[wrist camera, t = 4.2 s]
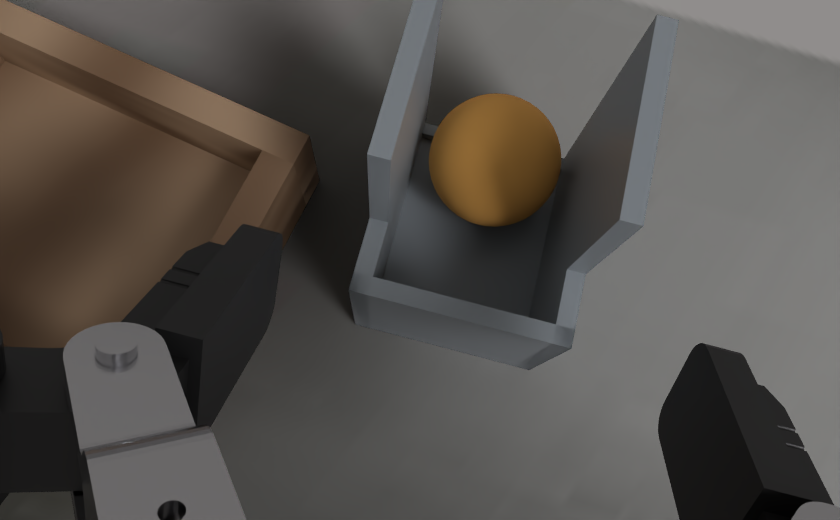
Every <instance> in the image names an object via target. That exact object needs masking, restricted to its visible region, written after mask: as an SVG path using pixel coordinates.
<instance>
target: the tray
mask: <svg viewBox="0 0 840 520" xmlns="http://www.w3.org/2000/svg"><path fill="white" fill-rule="evenodd" d="M319 181H320V180H319V176H318V172H317V167H316V163H315V158H314V154H313V149H312V145H311V140H310V136H309V135H307V134H305V133H303V132H301V131H298V130H296V129H294V128H292V127H289V126H287V125H285V124H283V123H280V122H278V121H276V120H274V119H271V118H269V117H267V116H265V115H262V114H260V113H258V112H256V111H253V110H251V109H249V108H247V107H244V106H242V105H240V104H238V103H235V102H233V101H231V100H229V99H226V98H224V97H222V96H220V95H217V94H215V93H213V92H211V91H208V90H206V89H204V88H202V87H199V86H197V85H195V84H193V83H190V82H188V81H186V80H184V79H181V78H179V77H177V76H175V75H172V74H170V73H168V72H166V71H163V70H161V69H159V68H157V67H154V66H152V65H150V64H148V63H145V62H143V61H141V60H139V59H136V58H134V57H132V56H130V55H127V54H125V53H123V52H121V51H118V50H116V49H114V48H112V47H109V46H107V45H105V44H103V43H100V42H98V41H96V40H94V39H91V38H89V37H87V36H85V35H82V34H80V33H78V32H76V31H73V30H71V29H69V28H67V27H64V26H62V25H60V24H58V23H55V22H53V21H51V20H49V19H46V18H44V17H42V16H40V15H37V14H35V13H33V12H31V11H28V10H26V9H24V8H22V7H19V6H17V5H15V4H13V3H10V2H8V1H6V0H0V330H1V332H2V335H3V344H4V347H33V348H63V347H65V346H66V344H67V343H68V341H69V340H70V339H71V338H72V337H73V336H75V335H76V334H77V333H79V332H81V331H83V330H84V329H87V328H89V327H92V326H95V325H99V324H104V323H111V322H121V321H122V320H123V319H124V318H125V317H126V316H127V314H128V313H129V312H130V311H131V310H132V309H133V308H134V307H135V306H136V305H137V304H138V303H139V302H140V300H141V299H142V298H143V297H144V296H145V295H146V294H147V293H148V292H149V291H150V290H151V289H152V288H153V287H154V285H155V284H156V283H157V282H160V281H161V278H162V277H163V276H164V275H165V274H166V273H167V271H168V270H169V269H172V266H173V265H174V264H175V263H176V262H177V261H178V260H179V259H180V257H181V256H182V255H183V254H184V253H185V252H186V251H188V250H191V249H193V248H195V247H197V246H200V245H202V244H204V243H206V242H213V243H217V244H221V245H225V244H226V242H227V241H228V240H229V239H230V238H231V236H232V235H233V234H234V233H235V232H236V230H237V229H238V228H239V227H240V226H241V225H242V224H247V225H251V226H255V227H259V228H263V229H266V230H270V231H274V232H278V233H281V234H282V237H283V245H282V250H283V248H284V246H285V244H286V242H287V240H288V239H289V237H290V235H291V233H292V231H293V229H294V227H295V225H296V224H297V222H298V220H299V218H300V216H301V214H302V212H303V210H304V209H305V207H306V205H307V203H308V201H309V199H310V197H311V196H312V194H313V192H314V190H315V188H316V186H317V184H318V182H319Z"/></svg>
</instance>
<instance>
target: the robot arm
mask: <svg viewBox="0 0 840 520" xmlns="http://www.w3.org/2000/svg"><path fill="white" fill-rule="evenodd" d="M282 245H283V237H282V234H281V233H278V232H274V231H270V230H266V229H263V228H259V227H255V226H251V225H247V224H242V225H241V226H240V227H239V228H238V229H237V230H236V232H235V233H234V234H233V235H232V236H231V238H230V239H229V240H228V241H227V242H226V244H225V245H221V244H217V243H213V242H206V243H204V244H202V245H200V246H197V247H195V248H193V249H191V250H188V251H186V252H185V253H184V254H183V255H182V256H181V257H180V259H179V260H178V261H177V262H176V263H175V264H174V265H173V266H172V269H169V270H168V271H167V273H166V274H165V275H164V276H163V277H162V278H161V281H160V282H157V283H156V284H155V285H154V287H153V288H152V289H151V290H150V291H149V292H148V293H147V294H146V295H145V296H144V297H143V298H142V299H141V300H140V302H139V303H138V304H137V305H136V306H135V307H134V308H133V309H132V310H131V311H130V312H129V313H128V314H127V316H126V317H125V318H124V319H123V320H122V321H121V322H111V323H104V324H99V325H95V326H92V327H89V328H87V329H84V330H83V331H81V332H79V333H77V334H76V335H75V336H73V337H72V338H71V339H70V340H69V341H68V343H67V344H66V346H65V347H63V348H33V347H4V344H3V335H2V332H1V330H0V505H1V503H2V502H3V501H4V499H5V498H6V497H7V496H8V494H9V493H12V492H56V491H71V498H72V504H73V510H74V516H75V520H246V518H245V515H244V512H243V510H242V507H241V504H240V502H239V499H238V497H237V494H236V491H235V489H234V486H233V483H232V481H231V478H230V476H229V473H228V470H227V468H226V465H225V463H224V460H223V457H222V455H221V452H220V449H219V447H218V444H217V442H216V439H215V437H214V434H213V432H212V430H211V428H210V427H211V425H212V423H213V422H214V420H215V418H216V416H217V415H218V413H219V411H220V410H221V408H222V406H223V404H224V403H225V401H226V399H227V398H228V396H229V394H230V392H231V391H232V389H233V387H234V385H235V384H236V382H237V380H238V379H239V377H240V375H241V373H242V372H243V370H244V368H245V367H246V365H247V363H248V361H249V360H250V358H251V356H252V354H253V353H254V351H255V349H256V348H257V346H258V344H259V342H260V341H261V339H262V337H263V336H264V334H265V332H266V330H267V327H268V325H269V322H270V319H271V316H272V313H273V309H274V304H275V297H276V290H277V283H278V275H279V268H280V260H281V253H282ZM658 434H659V439H660V443H661V447H662V451H663V455H664V459H665V463H666V467H667V471H668V475H669V479H670V483H671V487H672V491H673V495H674V499H675V503H676V507H677V511H678V515H679V519H680V520H840V508H839V507H836V506H834V504H833V502H832V500H831V498H830V496H829V494H828V492H827V490H826V488H825V486H824V484H823V482H822V480H821V478H820V476H819V474H818V473H817V471H816V469H815V467H814V465H813V463H812V461H811V459H810V457H809V455H808V453H807V451H804V445H803V443H802V441H801V439H800V437H799V435H798V434H797V433H795V427H794V425H793V423H792V421H791V419H790V417H789V416H788V414H787V412H786V410H785V408H784V407H783V406H782V405H781V404H780V402H779V401H778V400H777V399H776V398H775V397H774V396H773V395H772V394H771V393H770V392H769V391H768V390H767V389H766V388H765V387H764V386H761V385H758V384H757V382H756V380H755V378H754V376H753V374H752V372H751V369H750V367H749V365H748V363H747V361H746V359H745V357H744V356H743V355H742V354H741V353H738V352H734V351H730V350H726V349H722V348H719V347H715V346H711V345H707V344H703V343H700V344H698V345H696V346H695V347H694V348H693V350H692V351H691V353H690V354H689V356H688V358H687V360H686V362H685V364H684V366H683V368H682V370H681V372H680V374H679V375H678V377H677V379H676V381H675V383H674V385H673V387H672V389H671V391H670V393H669V394H668V396H667V398H666V400H665V402H664V404H663V407H662V409H661V413H660V417H659V424H658Z"/></svg>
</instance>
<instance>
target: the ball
mask: <svg viewBox="0 0 840 520" xmlns="http://www.w3.org/2000/svg"><path fill="white" fill-rule="evenodd" d="M560 169H561V150H560V144H559V140H558V137H557V134H556V132H555V130H554V128H553V126H552V125H551V123H550V121H549V120H548V119H547V117H546V116H545V115H544V114H543V113H542V112H541V111H540V110H539V109H538V108H537V107H535V106H534V105H532V104H531V103H529V102H527V101H525V100H523V99H521V98H518V97H515V96H512V95H507V94H497V93H496V94H485V95H480V96H477V97H474V98H471V99H469V100H467V101H465V102H463V103H461V104H460V105H458V106H457V107H455V108H454V109H453V110H452V111H451V112H450V113H448V115H447V116H446V117H445V118H444V119H443V120H442V122H441V123H440V125H439V126H438V128H437V130H436V132H435V134H434V137H433V140H432V143H431V147H430V152H429V171H430V176H431V180H432V183H433V185H434V188H435V190H436V192H437V194H438V196H439V197H440V199H441V200H442V201H443V203H444V204H445V205H446V206H447V207H448V208H449V209H450V210H451V211H452V212H454V213H455V214H456V215H457V216H459V217H461V218H463V219H464V220H466V221H468V222H471V223H474V224H477V225H482V226H491V227H498V226H506V225H510V224H514V223H517V222H519V221H522V220H524V219H526V218H527V217H529V216H531V215H532V214H534V213H535V212H536V211H537V210H539V209H540V208H541V207H542V206H543V205H544V203H545V202H546V201H547V200H548V198H549V197H550V196H551V194H552V192H553V190H554V189H555V186H556V184H557V181H558V178H559V174H560Z"/></svg>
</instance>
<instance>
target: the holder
mask: <svg viewBox="0 0 840 520" xmlns="http://www.w3.org/2000/svg"><path fill="white" fill-rule="evenodd" d="M442 3H443V0H413V3H412V7H411V10H410V13H409V17H408V20H407V23H406V27H405V30H404V33H403V37H402V40H401V43H400V46H399V50H398V53H397V56H396V60H395V63H394V66H393V70H392V73H391V76H390V80H389V83H388V86H387V90H386V93H385V96H384V100H383V103H382V106H381V110H380V113H379V116H378V120H377V123H376V126H375V130H374V133H373V136H372V140H371V143H370V146H369V149H368V153H367V164H368V189H369V213H370V218H369V222H368V225H367V229H366V232H365V235H364V239H363V242H362V246H361V249H360V253H359V256H358V259H357V263H356V266H355V270H354V273H353V277H352V280H351V283H350V287H349V295H350V300H351V305H352V310H353V315H354V320H355V324H356V325H360V326H364V327H368V328H372V329H375V330H379V331H383V332H387V333H391V334H394V335H398V336H402V337H406V338H410V339H413V340H417V341H421V342H425V343H429V344H432V345H436V346H440V347H444V348H448V349H451V350H455V351H459V352H463V353H467V354H470V355H474V356H478V357H482V358H486V359H489V360H493V361H497V362H501V363H505V364H508V365H512V366H516V367H520V368H524V369H527V370H530V369H532V368H534V367H536V366H538V365H540V364H542V363H544V362H546V361H548V360H550V359H552V358H554V357H556V356H558V355H560V354H562V353H564V352H566V351H567V350H569V349H571V348H572V343H573V337H574V332H575V327H576V322H577V317H578V312H579V306H580V301H581V296H582V291H583V286H584V281H585V275H586V273H588V272H589V271H590V270H591V269H592V268H594V267H595V266H596V265H597V264H598V263H600V262H601V261H602V260H603V259H604V258H606V257H607V256H608V255H609V254H610V253H612V252H613V251H614V250H615V249H617V248H618V247H619V246H620V245H621V244H623V243H624V242H625V241H626V240H627V239H629V238H630V237H631V236H632V235H633V234H635V233H636V232H637V231H638V230H639V229H641V228H642V227H643V226H644V220H645V214H646V208H647V203H648V197H649V191H650V185H651V179H652V174H653V168H654V162H655V156H656V150H657V145H658V139H659V133H660V127H661V121H662V116H663V110H664V104H665V98H666V92H667V87H668V81H669V75H670V69H671V63H672V58H673V52H674V46H675V40H676V34H677V29H678V23H679V20H677V19H673V18H669V17H665V16H661V15H656V17H655V19H654V20H653V22H652V23H651V25H650V26H649V28H648V29H647V31H646V33H645V34H644V36H643V37H642V39H641V40H640V42H639V43H638V45H637V46H636V48H635V50H634V51H633V53H632V54H631V56H630V57H629V59H628V60H627V62H626V64H625V65H624V67H623V68H622V70H621V71H620V73H619V74H618V76H617V78H616V79H615V81H614V82H613V84H612V85H611V87H610V88H609V90H608V91H607V93H606V95H605V96H604V98H603V99H602V101H601V102H600V104H599V105H598V107H597V109H596V110H595V112H594V113H593V115H592V116H591V118H590V119H589V121H588V123H587V124H586V126H585V127H584V129H583V130H582V132H581V133H580V135H579V136H578V138H577V140H576V141H575V143H574V144H573V146H572V147H571V149H570V150H569V152H568V154H567V155H566V157H565V158H564V159H563V158H561V169H560V174H559V178H558V181H557V184H556V186H555V189H554V190H553V192H552V194H551V196H550V197H549V198H548V200H547V201H546V202H545V203H544V205H543V206H542V207H541V208H540V209H539V210H537V211H536V212H535V213H534V214H532V215H531V216H529V217H527V218H526V219H524V220H522V221H519V222H517V223H514V224H510V225H506V226H498V227H491V226H482V225H477V224H474V223H471V222H468V221H466V220H464V219H463V218H461V217H459V216H457V215H456V214H455V213H454V212H452V211H451V210H450V209H449V208H448V207H447V206H446V205H445V204H444V203H443V201H442V200H441V199H440V197H439V196H438V194H437V192H436V190H435V188H434V185H433V183H432V180H431V176H430V171H429V152H430V147H431V143H432V140H433V137H434V134H435V132H436V130H437V128H438V126H436V125H432V124H428V123H425V122H426V115H427V108H428V101H429V94H430V87H431V80H432V73H433V66H434V59H435V52H436V45H437V38H438V31H439V24H440V17H441V10H442Z"/></svg>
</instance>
